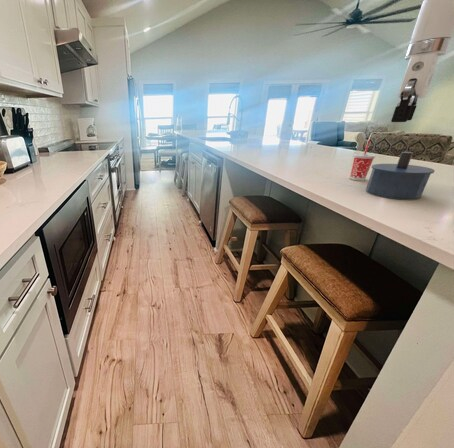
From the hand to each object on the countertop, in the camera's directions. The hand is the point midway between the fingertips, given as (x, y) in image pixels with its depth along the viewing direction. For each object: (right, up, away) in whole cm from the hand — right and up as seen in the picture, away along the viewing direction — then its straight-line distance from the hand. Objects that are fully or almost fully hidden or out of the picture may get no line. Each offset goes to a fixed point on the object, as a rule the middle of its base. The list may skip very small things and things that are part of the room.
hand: (401, 121), depth 70 cm
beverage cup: (+6, -13, +22) cm, 26 cm away
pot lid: (+2, -14, +2) cm, 14 cm away
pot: (+3, -20, +5) cm, 21 cm away
